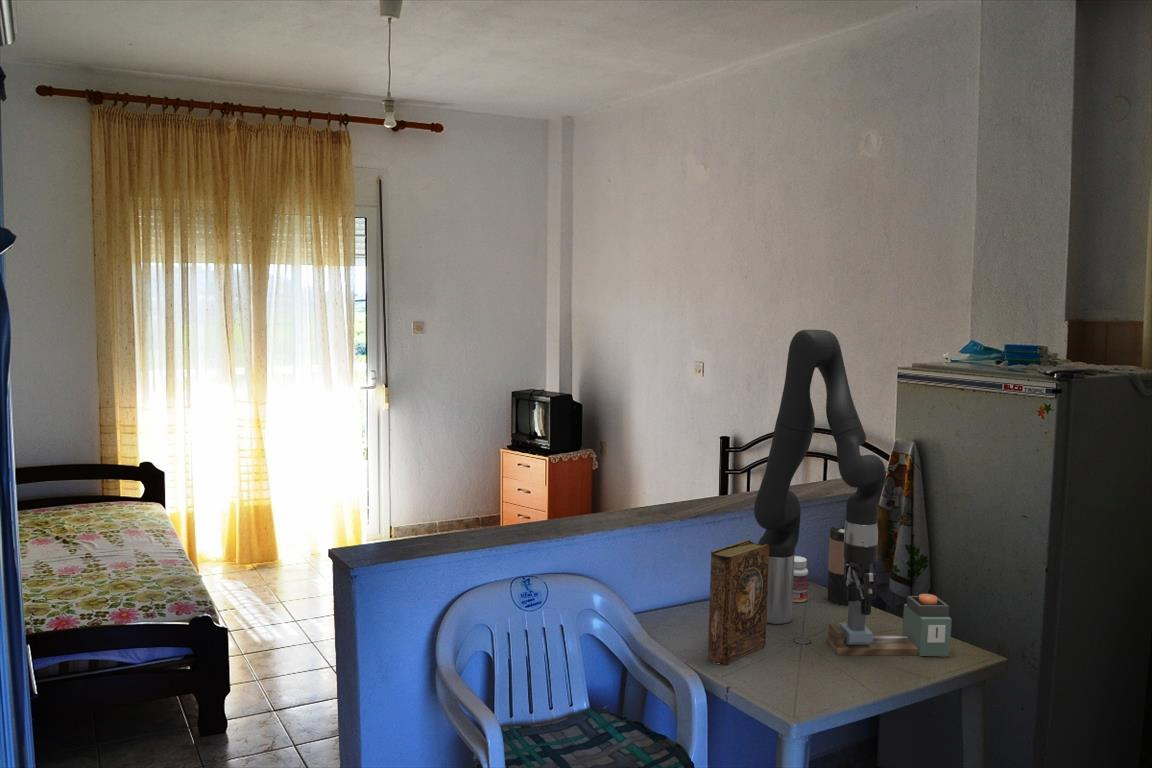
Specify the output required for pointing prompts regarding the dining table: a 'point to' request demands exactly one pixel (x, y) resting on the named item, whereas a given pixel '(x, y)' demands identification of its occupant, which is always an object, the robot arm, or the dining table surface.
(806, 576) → the pill bottle
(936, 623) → the cabinet
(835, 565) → the travel mug
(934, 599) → the button
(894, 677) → the dining table surface
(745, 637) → the book
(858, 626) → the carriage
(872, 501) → the robot arm
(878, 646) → the rail stand
